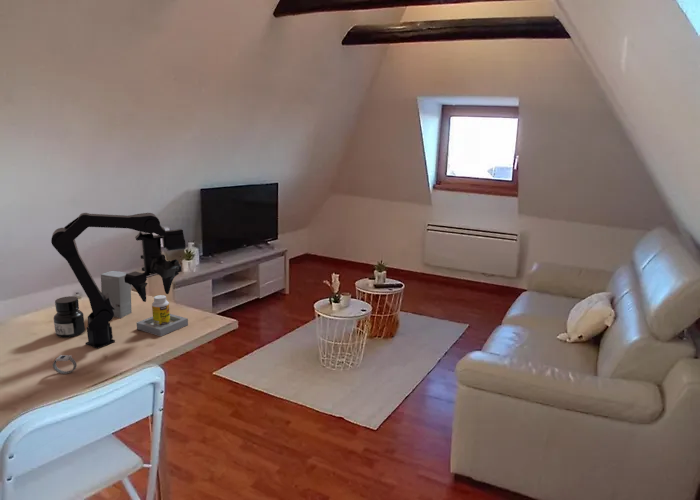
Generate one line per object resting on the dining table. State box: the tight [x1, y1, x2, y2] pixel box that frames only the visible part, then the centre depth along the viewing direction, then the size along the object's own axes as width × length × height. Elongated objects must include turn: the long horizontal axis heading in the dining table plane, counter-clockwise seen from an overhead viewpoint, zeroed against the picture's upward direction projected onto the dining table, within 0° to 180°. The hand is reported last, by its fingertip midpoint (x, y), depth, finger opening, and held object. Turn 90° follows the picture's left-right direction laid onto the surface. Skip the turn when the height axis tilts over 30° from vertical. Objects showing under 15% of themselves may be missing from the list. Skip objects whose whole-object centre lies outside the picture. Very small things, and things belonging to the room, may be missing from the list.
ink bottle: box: [53, 295, 86, 339], centre depth 179 cm, size 10×9×12 cm
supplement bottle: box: [151, 294, 171, 327], centre depth 184 cm, size 6×6×10 cm
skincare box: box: [100, 270, 132, 319], centre depth 196 cm, size 8×7×16 cm
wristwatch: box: [52, 354, 77, 375], centre depth 152 cm, size 6×3×5 cm, turn 92°
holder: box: [136, 313, 189, 337], centre depth 186 cm, size 12×12×2 cm
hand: (156, 297), depth 177 cm, fingers open, 9 cm apart
